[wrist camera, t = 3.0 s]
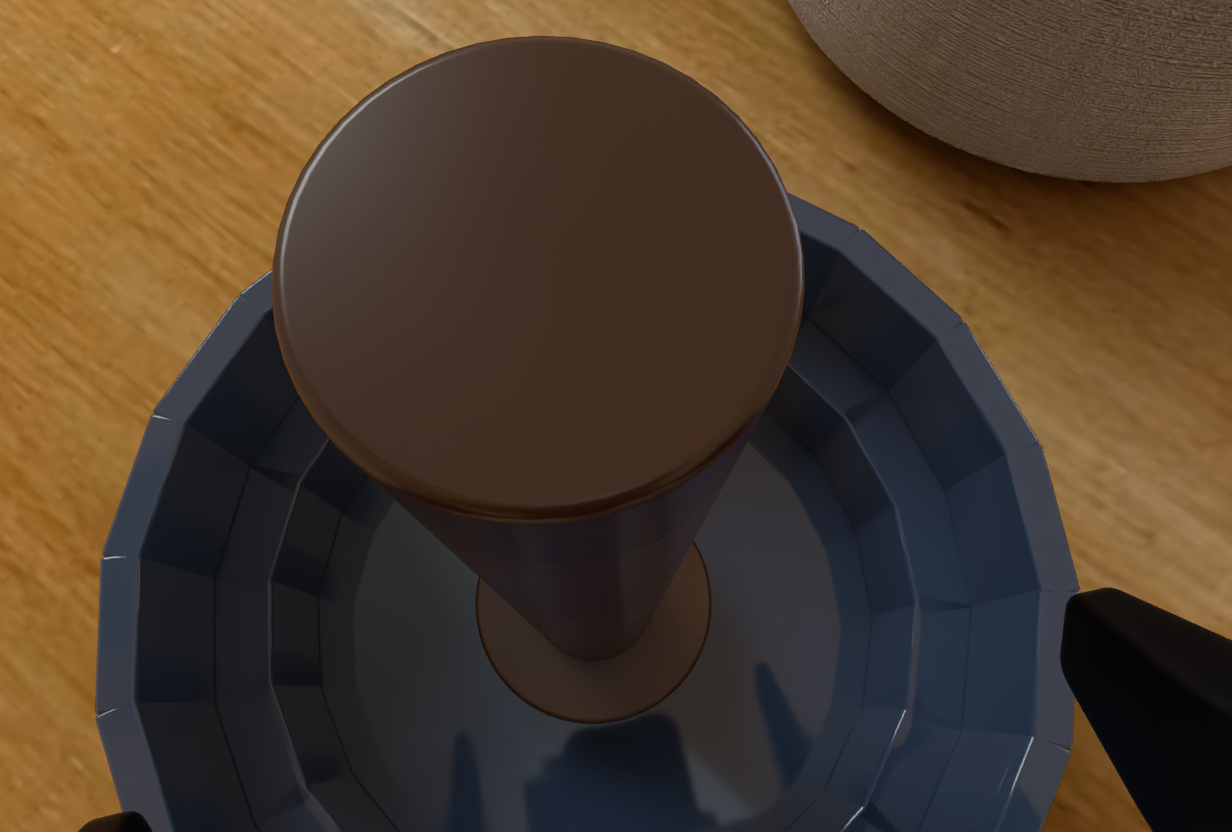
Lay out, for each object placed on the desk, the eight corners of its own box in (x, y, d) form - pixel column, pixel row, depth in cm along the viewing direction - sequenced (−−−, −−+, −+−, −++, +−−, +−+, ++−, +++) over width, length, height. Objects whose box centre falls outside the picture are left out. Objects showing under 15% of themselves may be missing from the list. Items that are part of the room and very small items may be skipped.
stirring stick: (741, 564, 19) (1231, 78, 4) (638, 765, 18) (788, 1123, 3) (555, 463, 20) (381, -291, 5) (444, 650, 18) (-262, 458, 3)
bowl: (1040, 480, 20) (1211, 394, 14) (747, 1161, 16) (821, 1410, 11) (481, 197, 22) (436, 21, 16) (109, 751, 18) (-118, 776, 13)
